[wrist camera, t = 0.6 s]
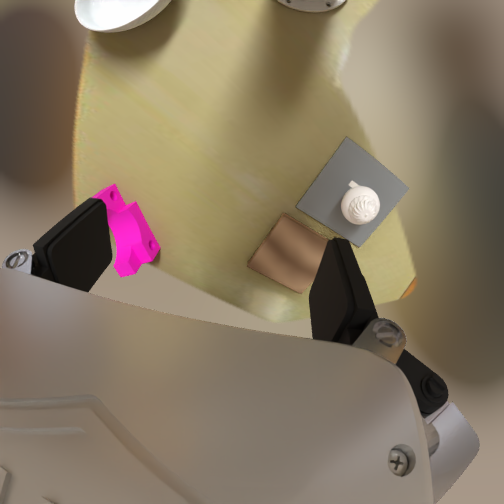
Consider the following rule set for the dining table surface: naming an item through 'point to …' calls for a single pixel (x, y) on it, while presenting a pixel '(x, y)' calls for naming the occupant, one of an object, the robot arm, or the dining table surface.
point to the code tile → (341, 180)
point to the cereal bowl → (116, 13)
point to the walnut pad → (290, 254)
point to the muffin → (360, 205)
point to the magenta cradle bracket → (128, 232)
